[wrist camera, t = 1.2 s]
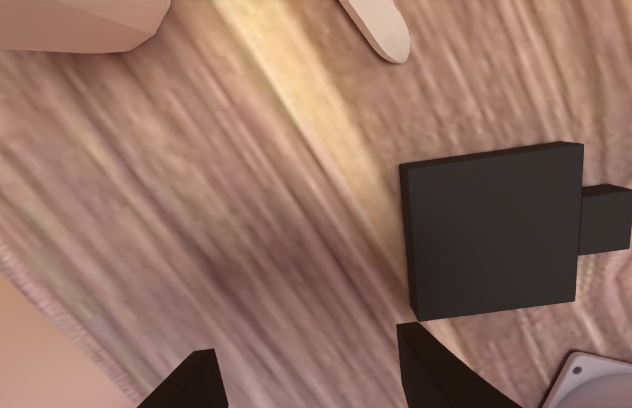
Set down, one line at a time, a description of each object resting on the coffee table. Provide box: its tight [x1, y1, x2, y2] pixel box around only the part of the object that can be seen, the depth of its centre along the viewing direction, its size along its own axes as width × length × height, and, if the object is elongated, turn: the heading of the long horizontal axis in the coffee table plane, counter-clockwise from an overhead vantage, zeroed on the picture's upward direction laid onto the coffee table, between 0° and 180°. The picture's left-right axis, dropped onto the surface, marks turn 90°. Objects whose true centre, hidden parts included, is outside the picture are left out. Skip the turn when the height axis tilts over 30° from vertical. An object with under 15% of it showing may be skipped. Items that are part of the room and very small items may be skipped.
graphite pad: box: [399, 141, 632, 322], centre depth 17 cm, size 10×8×2 cm
